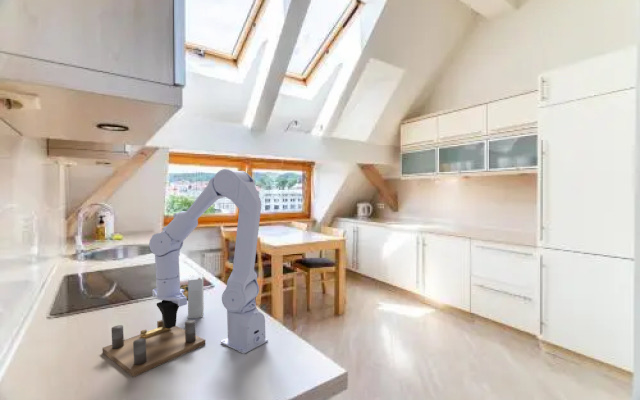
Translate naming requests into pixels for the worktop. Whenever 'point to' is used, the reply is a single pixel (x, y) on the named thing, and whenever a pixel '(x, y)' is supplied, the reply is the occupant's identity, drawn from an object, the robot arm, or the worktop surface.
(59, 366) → the worktop surface
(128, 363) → the seat board
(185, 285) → the bread roll
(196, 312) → the skincare box
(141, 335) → the bar
